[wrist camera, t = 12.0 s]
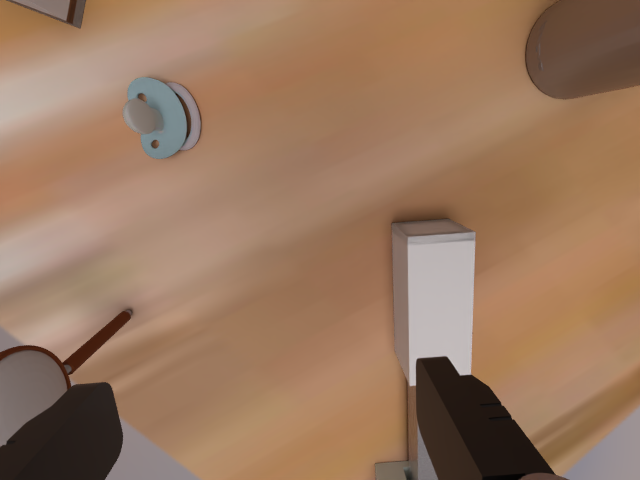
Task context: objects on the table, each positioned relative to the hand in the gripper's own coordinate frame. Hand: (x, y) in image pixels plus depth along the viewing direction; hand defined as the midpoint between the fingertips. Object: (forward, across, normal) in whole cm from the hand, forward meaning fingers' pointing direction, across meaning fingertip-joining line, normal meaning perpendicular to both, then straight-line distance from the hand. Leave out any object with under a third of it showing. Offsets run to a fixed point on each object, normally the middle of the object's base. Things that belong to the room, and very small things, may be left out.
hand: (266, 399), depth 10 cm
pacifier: (+30, +12, -10) cm, 34 cm away
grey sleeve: (+30, -13, +10) cm, 34 cm away
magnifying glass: (+30, +20, +10) cm, 38 cm away
